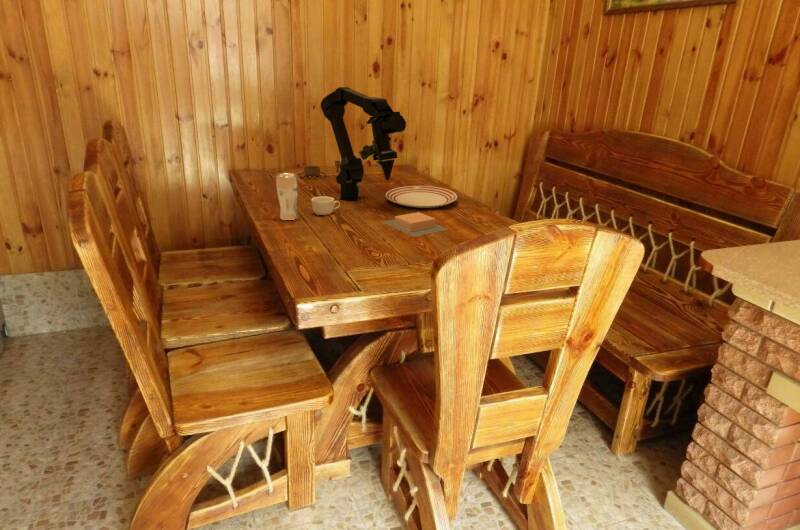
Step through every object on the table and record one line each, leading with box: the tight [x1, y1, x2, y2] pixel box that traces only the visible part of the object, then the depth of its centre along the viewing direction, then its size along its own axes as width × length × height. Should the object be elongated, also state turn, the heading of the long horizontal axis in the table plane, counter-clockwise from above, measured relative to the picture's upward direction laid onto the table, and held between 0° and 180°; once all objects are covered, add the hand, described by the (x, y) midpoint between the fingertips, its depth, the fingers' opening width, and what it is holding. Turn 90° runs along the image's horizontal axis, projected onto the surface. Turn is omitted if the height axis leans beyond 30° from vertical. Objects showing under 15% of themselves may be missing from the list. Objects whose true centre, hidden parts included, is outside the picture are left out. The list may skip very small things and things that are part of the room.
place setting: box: [298, 160, 341, 179], centre depth 244 cm, size 18×20×6 cm
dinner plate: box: [385, 185, 458, 209], centre depth 206 cm, size 28×27×3 cm
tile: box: [394, 211, 436, 232], centre depth 177 cm, size 3×10×9 cm
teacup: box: [310, 195, 341, 216], centre depth 188 cm, size 10×8×5 cm
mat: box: [382, 219, 449, 238], centre depth 177 cm, size 18×14×1 cm
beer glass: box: [275, 172, 299, 221], centre depth 180 cm, size 7×7×15 cm
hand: (387, 180), depth 191 cm, fingers closed
